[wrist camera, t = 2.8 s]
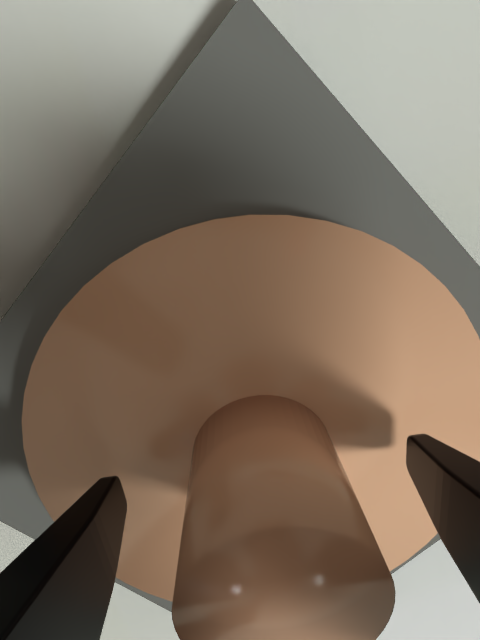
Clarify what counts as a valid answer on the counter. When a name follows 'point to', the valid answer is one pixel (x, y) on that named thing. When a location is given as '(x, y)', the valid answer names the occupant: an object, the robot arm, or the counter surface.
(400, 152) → the counter surface
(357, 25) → the counter surface
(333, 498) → the terracotta lid
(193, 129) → the rubber mat
